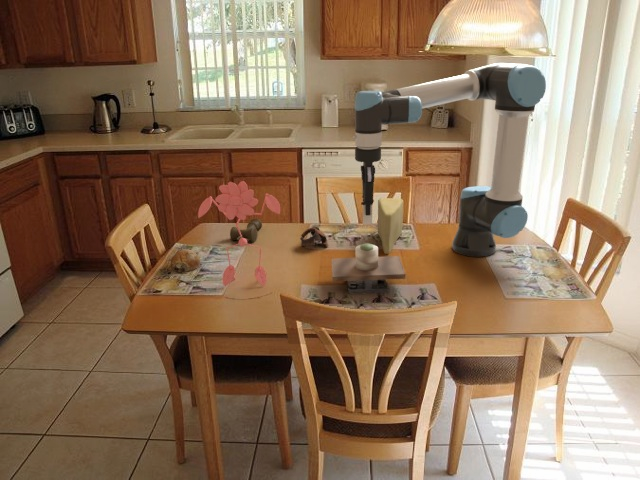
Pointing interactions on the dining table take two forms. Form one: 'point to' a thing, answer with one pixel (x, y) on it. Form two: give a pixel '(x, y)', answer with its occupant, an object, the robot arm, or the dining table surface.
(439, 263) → the dining table surface
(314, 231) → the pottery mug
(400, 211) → the cheese
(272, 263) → the dining table surface
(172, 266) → the bread roll
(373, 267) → the panel with push button
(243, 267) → the dining table surface
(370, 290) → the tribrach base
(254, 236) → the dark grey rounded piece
